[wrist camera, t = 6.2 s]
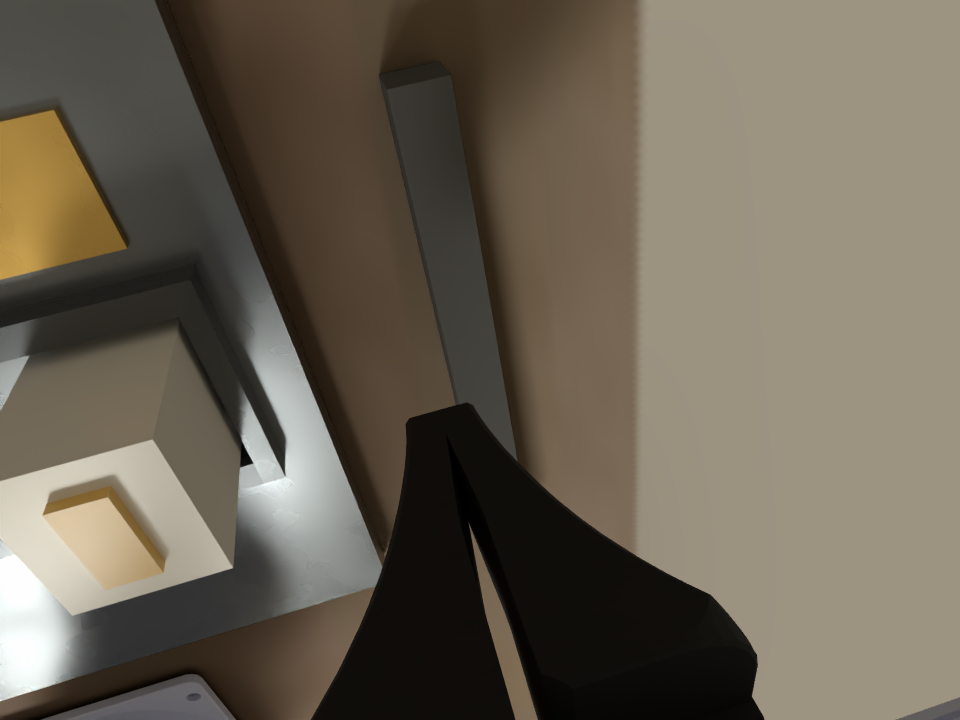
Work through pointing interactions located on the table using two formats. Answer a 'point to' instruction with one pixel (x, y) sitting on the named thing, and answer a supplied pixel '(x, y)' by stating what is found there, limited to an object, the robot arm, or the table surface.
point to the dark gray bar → (448, 236)
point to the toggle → (118, 468)
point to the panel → (150, 299)
